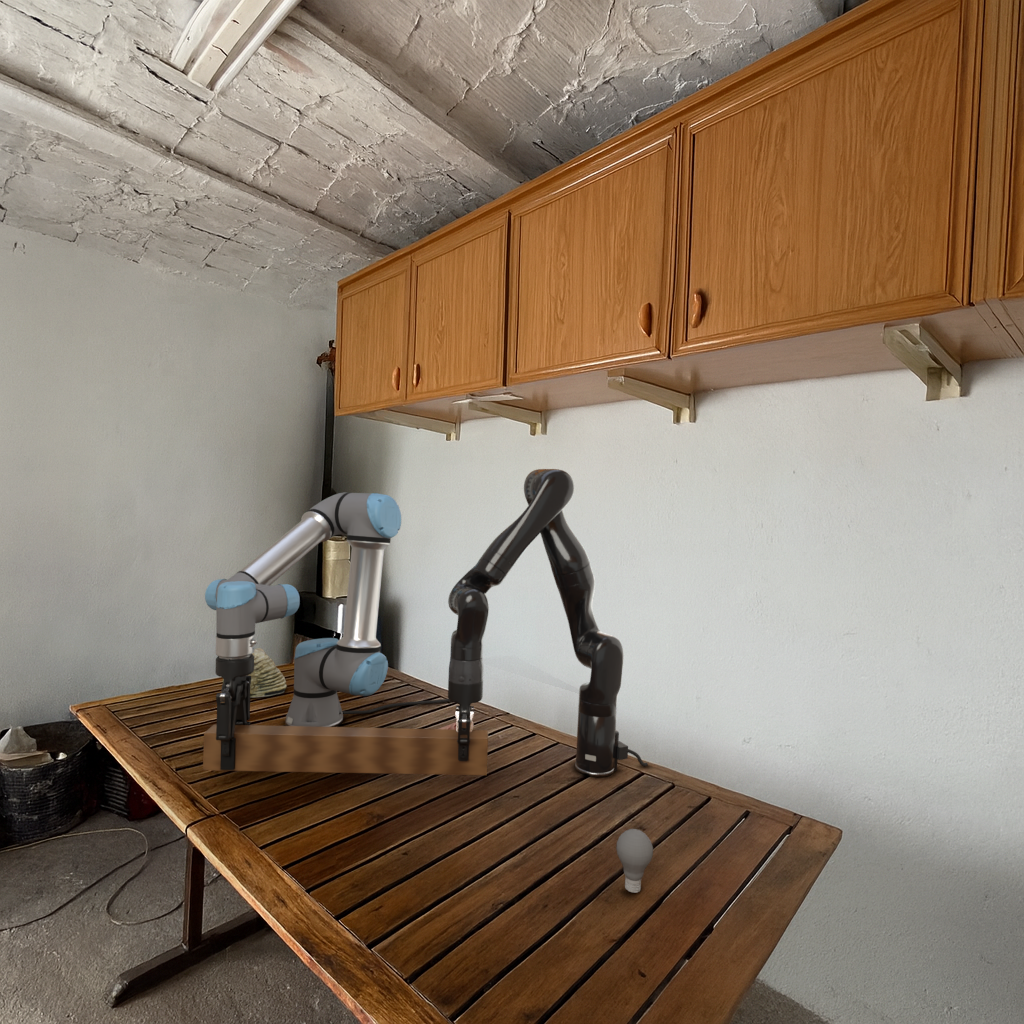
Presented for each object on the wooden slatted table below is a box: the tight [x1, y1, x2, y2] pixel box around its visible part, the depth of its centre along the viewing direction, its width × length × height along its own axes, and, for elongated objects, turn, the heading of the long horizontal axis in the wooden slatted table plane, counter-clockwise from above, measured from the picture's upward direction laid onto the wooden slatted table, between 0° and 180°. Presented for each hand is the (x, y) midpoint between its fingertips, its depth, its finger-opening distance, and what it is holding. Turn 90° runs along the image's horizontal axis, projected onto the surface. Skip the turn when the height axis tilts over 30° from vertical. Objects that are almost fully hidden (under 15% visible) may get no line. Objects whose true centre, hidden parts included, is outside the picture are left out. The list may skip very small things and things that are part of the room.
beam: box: [202, 723, 489, 776], centre depth 136 cm, size 59×5×8 cm, turn 93°
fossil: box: [222, 647, 288, 699], centre depth 198 cm, size 9×18×15 cm, turn 132°
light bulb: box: [615, 828, 654, 894], centre depth 106 cm, size 6×6×10 cm
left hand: (233, 762), depth 135 cm, fingers closed on beam, 5 cm apart
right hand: (463, 754), depth 138 cm, fingers closed on beam, 5 cm apart
